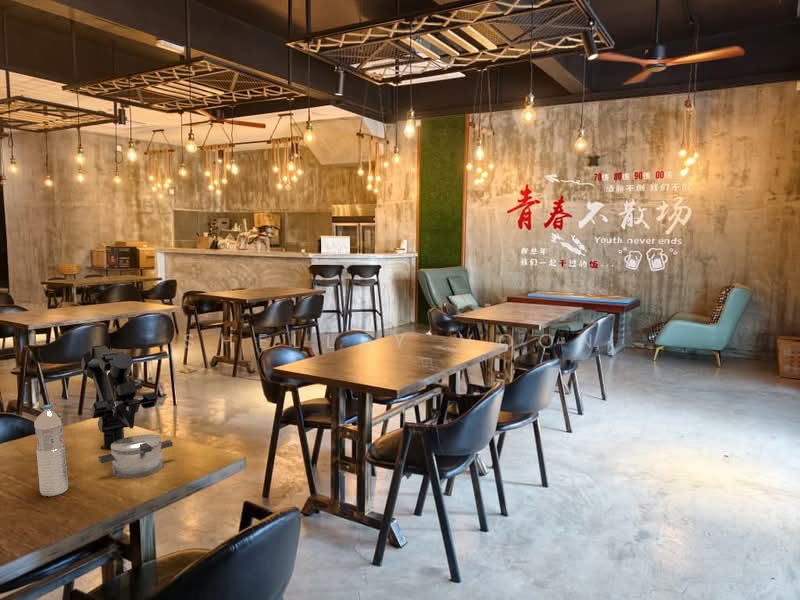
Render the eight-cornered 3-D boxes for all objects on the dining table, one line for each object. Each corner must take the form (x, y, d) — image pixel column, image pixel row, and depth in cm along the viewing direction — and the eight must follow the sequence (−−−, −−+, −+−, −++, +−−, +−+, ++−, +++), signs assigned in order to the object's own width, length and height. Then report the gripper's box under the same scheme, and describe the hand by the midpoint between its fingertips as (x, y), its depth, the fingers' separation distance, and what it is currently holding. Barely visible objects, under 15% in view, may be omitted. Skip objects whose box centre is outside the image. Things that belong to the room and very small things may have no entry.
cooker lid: (105, 445, 176) (105, 440, 176) (152, 434, 185) (152, 429, 185) (122, 458, 162) (122, 453, 162) (172, 446, 171) (172, 441, 171)
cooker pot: (94, 469, 175) (92, 447, 174) (163, 452, 189) (162, 431, 188) (107, 485, 164) (105, 462, 163) (180, 466, 177) (178, 444, 176)
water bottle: (58, 497, 157) (51, 409, 154) (34, 497, 157) (27, 409, 154) (73, 486, 163) (67, 402, 161) (50, 486, 164) (43, 402, 161)
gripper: (91, 377, 173) (102, 421, 166) (154, 367, 185) (168, 408, 178) (86, 396, 180) (97, 439, 173) (148, 385, 192) (160, 426, 185)
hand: (132, 427), depth 177 cm, fingers closed
